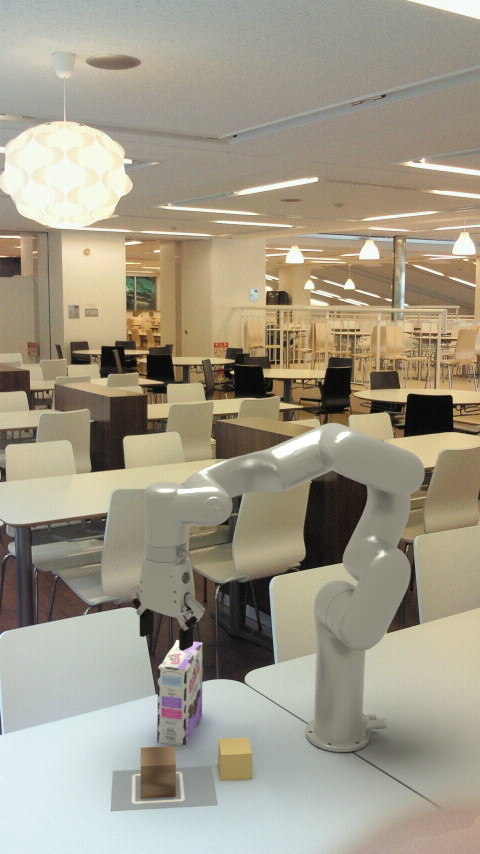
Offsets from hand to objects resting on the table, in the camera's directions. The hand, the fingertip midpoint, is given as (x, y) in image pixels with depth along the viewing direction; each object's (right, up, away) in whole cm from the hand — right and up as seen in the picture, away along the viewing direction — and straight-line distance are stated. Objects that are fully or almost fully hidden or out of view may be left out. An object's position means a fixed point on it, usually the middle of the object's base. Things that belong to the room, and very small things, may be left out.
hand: (166, 641), depth 155 cm
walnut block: (-1, -24, -7) cm, 25 cm away
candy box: (+2, -22, +15) cm, 26 cm away
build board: (0, -25, -6) cm, 26 cm away
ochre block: (+13, -24, -1) cm, 27 cm away
